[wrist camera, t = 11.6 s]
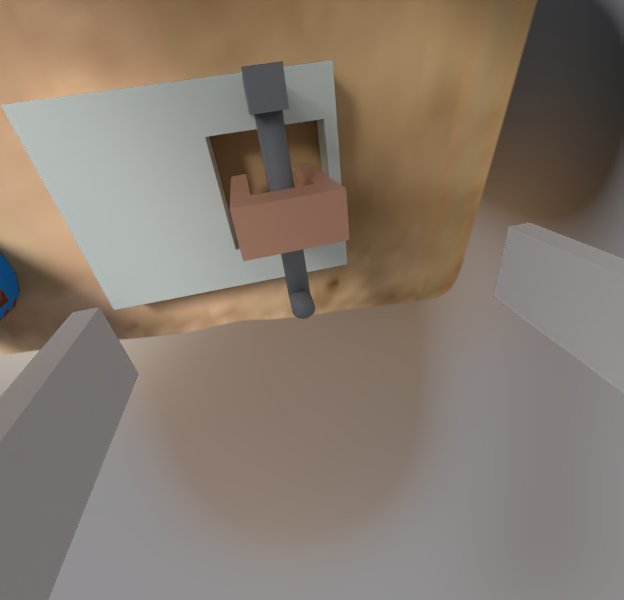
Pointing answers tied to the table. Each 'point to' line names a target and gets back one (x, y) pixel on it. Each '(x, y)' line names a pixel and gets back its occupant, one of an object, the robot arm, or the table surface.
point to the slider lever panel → (177, 177)
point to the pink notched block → (289, 215)
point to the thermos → (7, 287)
